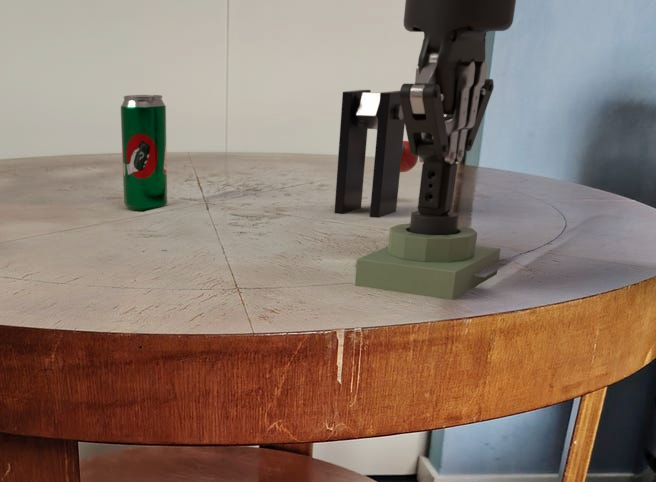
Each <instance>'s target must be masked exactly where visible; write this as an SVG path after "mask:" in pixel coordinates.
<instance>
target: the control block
mask: <svg viewBox="0 0 656 482" xmlns="http://www.w3.org/2000/svg"><path fill="white" fill-rule="evenodd" d="M409 230H410V222H409V223H400V224H397V225H394V226H392V227H390V228H389V234H388V245H387V246H386V247H383V248H380V249H378V250H375V251H372V252H371V253H368V254H366V255H363V256H361V257H358V258H357V259H356V265H355V266H356V267H355V278H354V286H355V287H360V288H361V287H362V288H368V289H375V290H381V291H389V292H394V293H402V294H410V295H415V296H421V297H430V298H436V299H442V300H450V301H454V300H455V299H457V298H459V297H461V296H462V295H464V294H465V293H467V292H469V291H471V290H473V289H475V288H476V287H478V286H479V285H481V284H483V283H485V282H487V281H488V280H489V279H491V278H493V277H495V276H497V274H498V269H496V270H494V271H493V272H491V273H489V274H488V275H486V276H479V275H475V274H477V273H479V272H480V271H482V270H485V269H486V268H488V267H490V266H491V265H493V264H495V263H497V262H499V261H500V257H501V256H500V255H501V248H500V247H492V246H484V245H477V239H478V232H477V231H476V230H475V229H474V228H472V227H468V226H464V225H460V224H458V226H457V234H452V235H423V234H415V233H411V232H409Z"/></svg>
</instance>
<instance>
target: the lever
mask: <svg viewBox="0 0 656 482" xmlns="http://www.w3.org/2000/svg"><path fill="white" fill-rule="evenodd" d="M380 93H381V92H372V91H371V92H363V93H362V96H361V100H360V103H359V106H358V110H357V113H356V116H357V118H358V119H359V121H360V122H361V124H362V125H363V127H364V128H365V129H368V130H377V126H378V115H379V103H380ZM418 161H419V156H414V155H411V152H410V147H409V142H408V140H403V146H402V156H401V167H400V173H406V172H409V171H411V170H413V168H414V167H415V166H416V165H417V163H418Z"/></svg>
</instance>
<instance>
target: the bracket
mask: <svg viewBox="0 0 656 482" xmlns="http://www.w3.org/2000/svg"><path fill="white" fill-rule="evenodd" d="M363 92H372V91H371V89H357V90H347V91H342V97H341V110H340V111H341V112H340V113H341V114H340V125H339V139H338V140H339V141H338V157H337V169H336V170H337V171H336V185H335V200H334V214H335V215H337V214H338V215H345V214H348V213H351V212H354V211H357V210H360V209H362V202H363V201H362V200H363V192H364V191H363V189H364V177H365V176H364V175H365V166H366V165H365V164H366V153H367V152H366V151H367V140H368V130H369V129H365V128H364V127H363V125H362V124H361V122H360V121H359V119H358V118H357V116H356V113H357V110H358V106H359V103H360V100H361V96H362V93H363ZM379 93H380V103H379V115H378V126H377V129H376V137H375V138H376V139H375V151H374V162H373V163H374V164H373V176H372V185H371V186H372V187H371V197H370V198H371V199H370V207H369V208H370V209H369V218H377V219H379V218H382V217H385V216H387V215H391V214H394V213H396V212H397V205H398V195H399V188H400V187H399V186H400V178H401V177H400V176H401V172H400V167H401V156H402V146H403V141H404V134H405V122H404V117H403V112H402V107H401V102H400V90H391V91H383V92H379Z"/></svg>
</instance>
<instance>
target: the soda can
mask: <svg viewBox="0 0 656 482" xmlns="http://www.w3.org/2000/svg"><path fill="white" fill-rule="evenodd" d="M120 126H121V128H120V129H121V130H120V131H121V152H122V153H121V154H122V155H121V156H122V157H121V158H122V181H123V182H122V183H123V204H124V205H125V207H126V208H127V209H129V210H131V211H136V212H137V211H138V212H148V211H152V210H157V209H161V208H164V207H165V206H166V205H167V204H168V163H167V162H168V160H167V155H168V154H167V105H166V104H165V103H164V100H163V95H160V94H131V95H130V94H129V95H123V102H122V104H121V106H120Z"/></svg>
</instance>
